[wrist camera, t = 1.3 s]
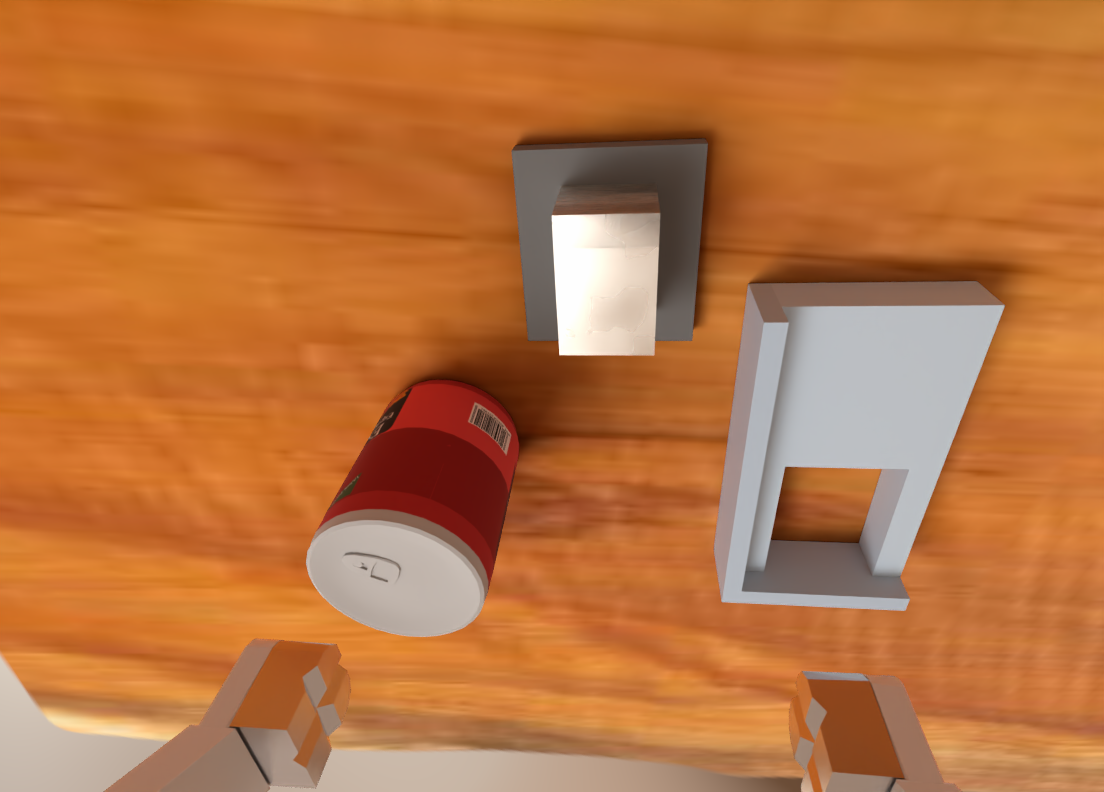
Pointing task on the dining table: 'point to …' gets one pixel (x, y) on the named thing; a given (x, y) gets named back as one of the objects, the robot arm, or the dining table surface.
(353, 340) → the dining table surface
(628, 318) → the white boxy piece
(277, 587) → the dining table surface
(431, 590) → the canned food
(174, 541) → the dining table surface
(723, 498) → the grey slotted tray
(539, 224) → the pad
